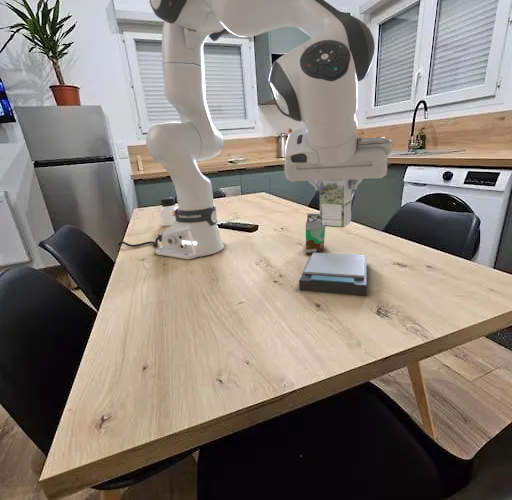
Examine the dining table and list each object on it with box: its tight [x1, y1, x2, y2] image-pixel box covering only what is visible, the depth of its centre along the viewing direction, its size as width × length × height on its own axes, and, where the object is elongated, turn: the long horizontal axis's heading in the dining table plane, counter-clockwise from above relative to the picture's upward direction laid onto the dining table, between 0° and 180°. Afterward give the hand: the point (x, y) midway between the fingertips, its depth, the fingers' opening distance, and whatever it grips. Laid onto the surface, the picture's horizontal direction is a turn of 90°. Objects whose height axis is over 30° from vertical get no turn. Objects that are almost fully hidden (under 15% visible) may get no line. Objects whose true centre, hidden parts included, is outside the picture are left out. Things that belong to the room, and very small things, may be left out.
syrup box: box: [319, 179, 352, 228], centre depth 66 cm, size 6×6×14 cm
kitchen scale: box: [298, 252, 368, 297], centre depth 71 cm, size 14×17×3 cm
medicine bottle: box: [158, 197, 179, 227], centre depth 136 cm, size 7×7×12 cm
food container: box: [305, 213, 327, 256], centre depth 89 cm, size 12×6×10 cm, turn 168°
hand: (335, 187), depth 67 cm, fingers closed on syrup box, 6 cm apart
